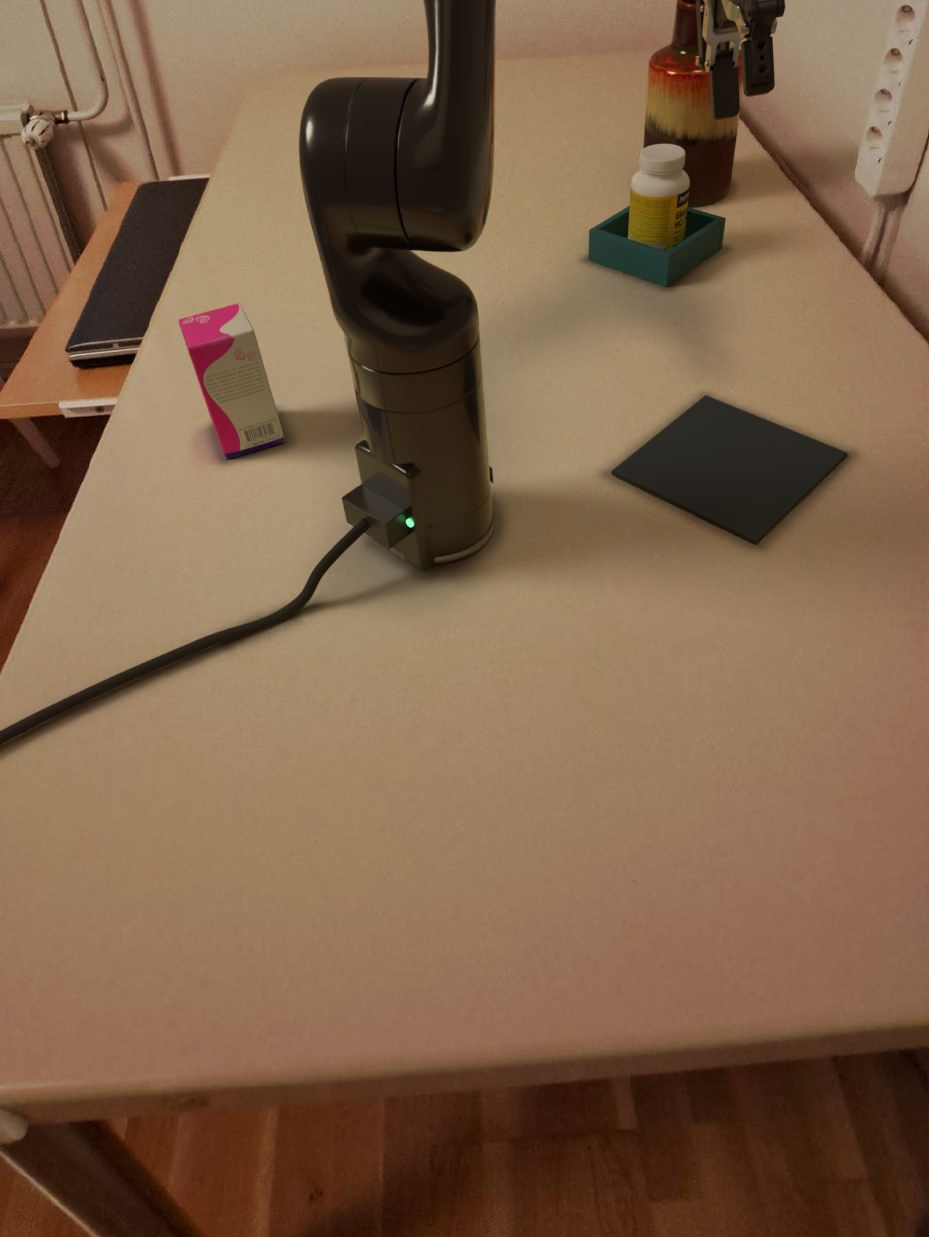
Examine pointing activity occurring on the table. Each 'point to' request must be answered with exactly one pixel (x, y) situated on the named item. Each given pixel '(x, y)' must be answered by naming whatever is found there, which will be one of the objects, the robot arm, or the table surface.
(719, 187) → the vase
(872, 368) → the table surface
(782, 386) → the table surface
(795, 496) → the mat
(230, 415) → the supplement box
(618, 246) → the square frame
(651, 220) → the pill bottle
